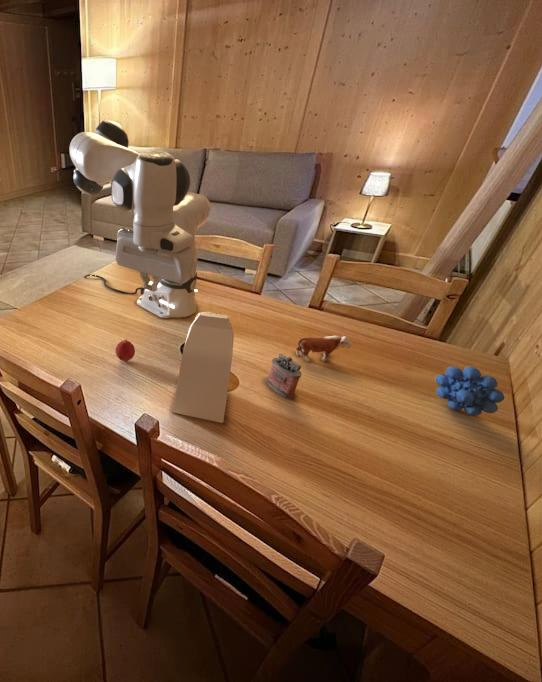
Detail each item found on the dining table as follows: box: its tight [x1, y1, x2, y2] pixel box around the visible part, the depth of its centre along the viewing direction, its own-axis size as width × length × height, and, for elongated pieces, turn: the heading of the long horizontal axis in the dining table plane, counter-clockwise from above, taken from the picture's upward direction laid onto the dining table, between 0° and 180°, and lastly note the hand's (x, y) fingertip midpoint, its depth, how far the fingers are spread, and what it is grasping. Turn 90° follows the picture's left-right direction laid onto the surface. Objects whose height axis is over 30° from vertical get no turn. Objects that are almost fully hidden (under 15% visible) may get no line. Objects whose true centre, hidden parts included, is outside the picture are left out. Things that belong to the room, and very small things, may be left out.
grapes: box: [434, 365, 505, 417], centre depth 82 cm, size 12×7×12 cm, turn 40°
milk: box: [172, 311, 235, 424], centre depth 85 cm, size 12×12×26 cm
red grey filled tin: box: [265, 353, 303, 399], centre depth 92 cm, size 8×3×10 cm, turn 23°
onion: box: [115, 338, 136, 362], centre depth 107 cm, size 6×6×8 cm
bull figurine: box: [295, 334, 353, 362], centre depth 102 cm, size 4×13×8 cm, turn 79°
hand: (150, 289), depth 88 cm, fingers closed
